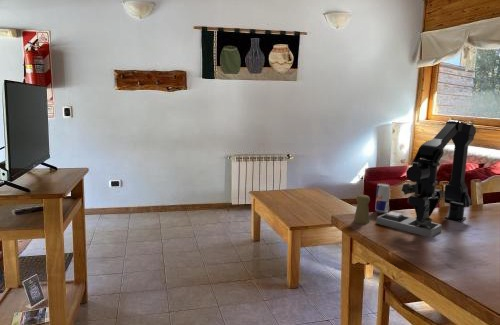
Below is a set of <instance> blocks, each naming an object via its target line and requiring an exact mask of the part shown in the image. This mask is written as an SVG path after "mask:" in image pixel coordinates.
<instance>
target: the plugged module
mask: <svg viewBox="0 0 500 325" xmlns="http://www.w3.org/2000/svg"><path fill="white" fill-rule="evenodd" d="M403 216H404V214H403V213H401V212H395V211H390V213H387V215H386V217H385V219H388V220H392V221H397V222H402V221H403Z"/></svg>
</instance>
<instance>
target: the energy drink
mask: <svg viewBox="0 0 500 325" xmlns="http://www.w3.org/2000/svg"><path fill="white" fill-rule="evenodd" d="M376 185H377V186H376V194H375V206H374V207H375V209H374V210H375V212H377V213H380V214H385V213H387V212H389V204H390V202H389V201H390V191H391V188H390V186H391V185H390V184H387V183H377V184H376Z"/></svg>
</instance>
